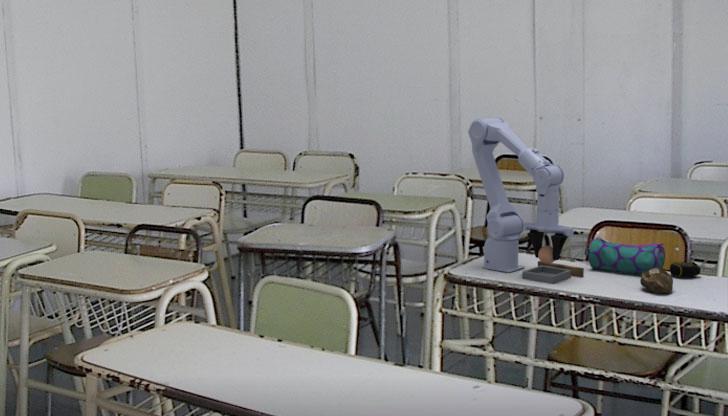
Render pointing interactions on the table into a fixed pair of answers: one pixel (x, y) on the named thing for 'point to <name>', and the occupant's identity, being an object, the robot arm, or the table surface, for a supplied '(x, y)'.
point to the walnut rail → (574, 270)
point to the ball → (546, 254)
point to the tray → (546, 274)
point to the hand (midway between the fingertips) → (547, 258)
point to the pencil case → (625, 256)
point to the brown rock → (657, 281)
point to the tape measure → (684, 269)
